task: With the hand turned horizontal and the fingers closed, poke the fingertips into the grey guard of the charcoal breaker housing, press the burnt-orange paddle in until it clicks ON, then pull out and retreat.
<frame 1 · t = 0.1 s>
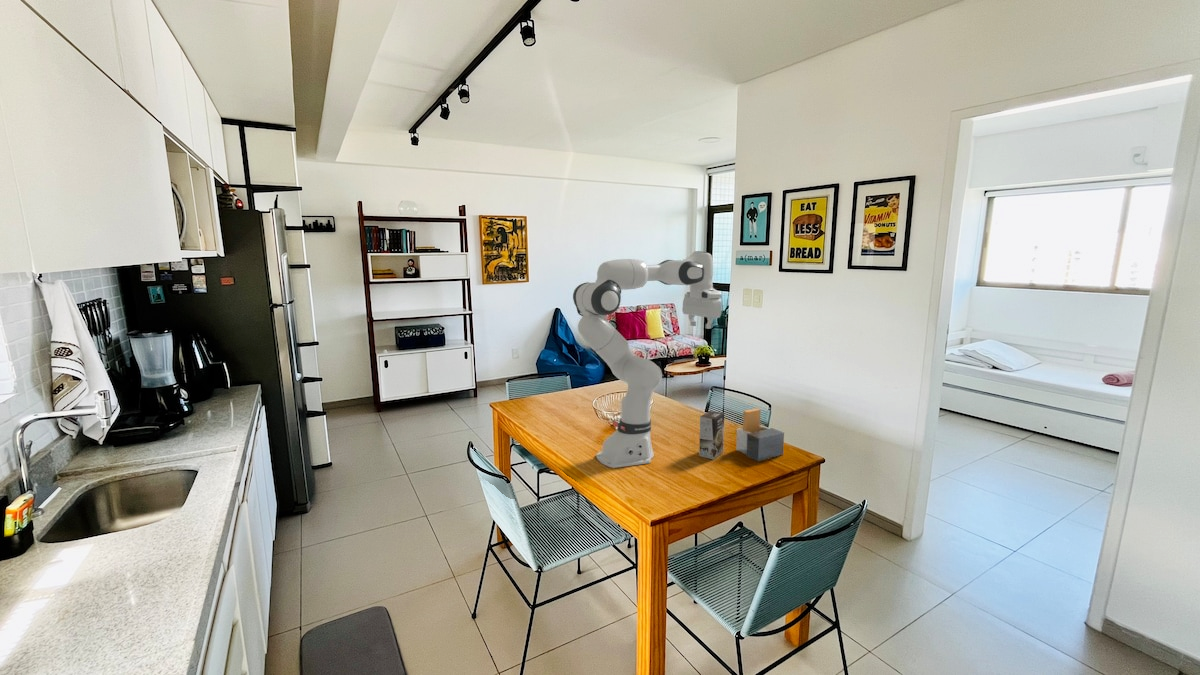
hand: (700, 327, 197), 48 cm above the table, tool pointing down, fingers open, 8 cm apart
coffee box: (711, 454, 191), on the table
breaker housing: (758, 452, 191), on the table
breaker paddle: (751, 422, 193), point 11 cm above the table, slide at 0.0 cm
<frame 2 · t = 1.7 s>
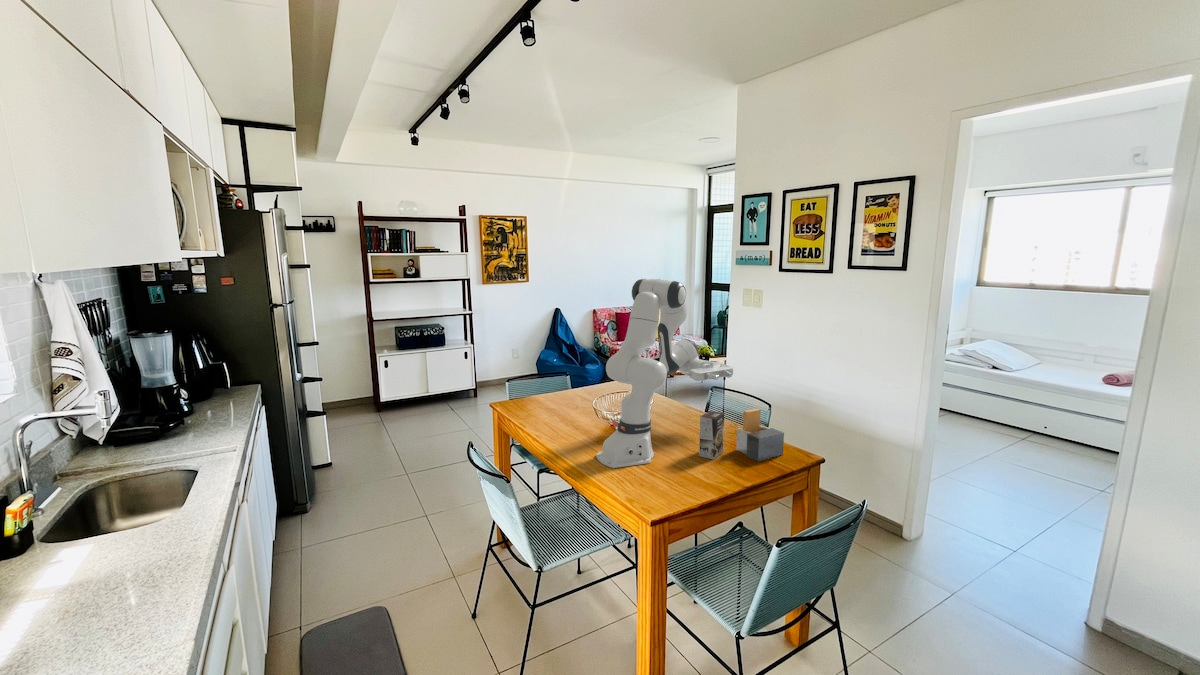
hand: (723, 376, 205), 26 cm above the table, tool horizontal, fingers open, 6 cm apart
nothing on the table moved.
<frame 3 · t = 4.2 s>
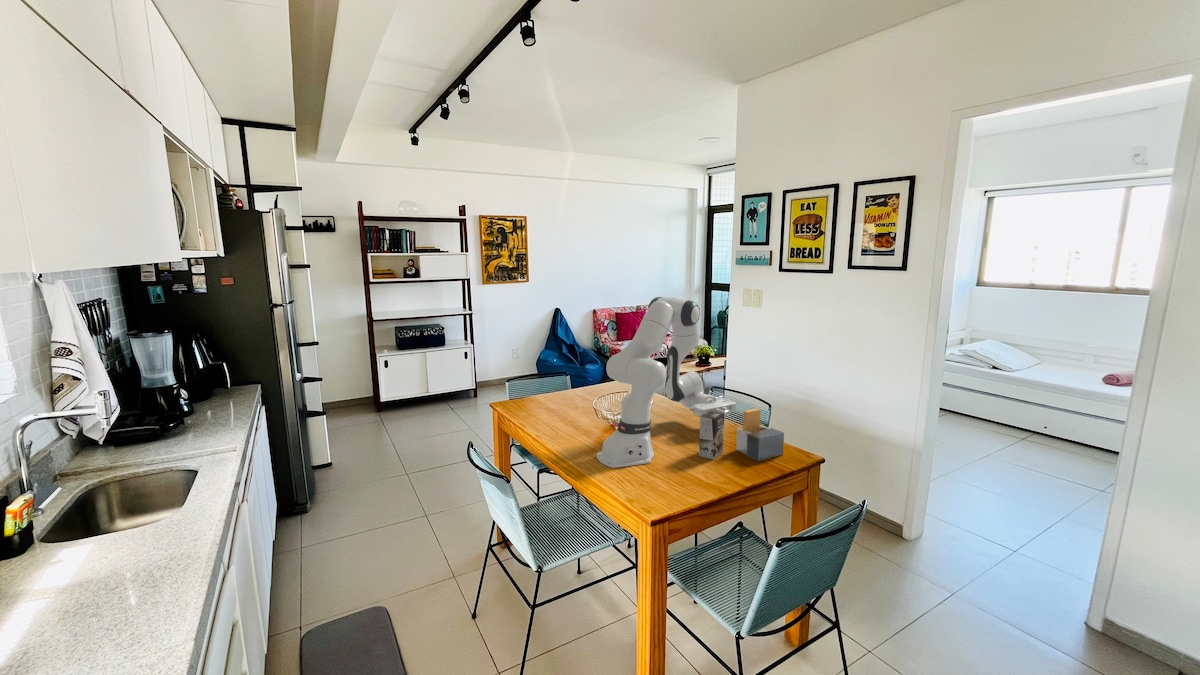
hand: (727, 413, 205), 11 cm above the table, tool horizontal, fingers closed
nothing on the table moved.
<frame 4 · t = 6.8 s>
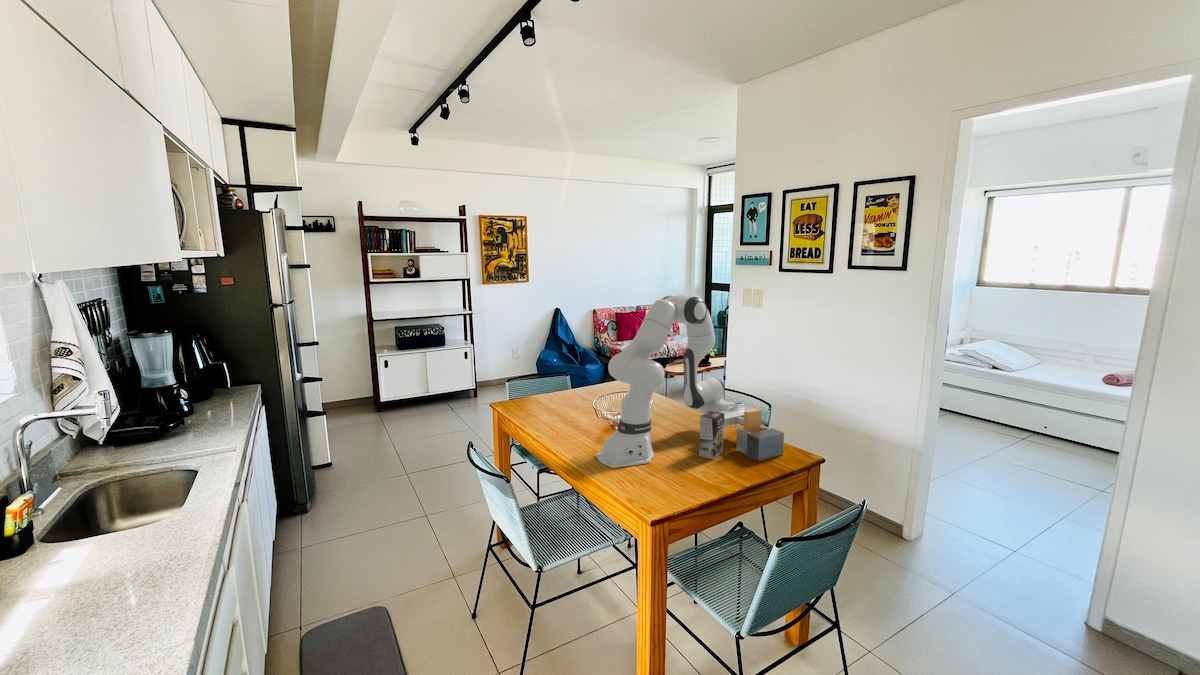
hand: (750, 422, 194), 11 cm above the table, tool horizontal, fingers closed, pressing on breaker paddle
breaker paddle: (752, 422, 193), point 11 cm above the table, slide at 0.5 cm, touching gripper
everything else where it was.
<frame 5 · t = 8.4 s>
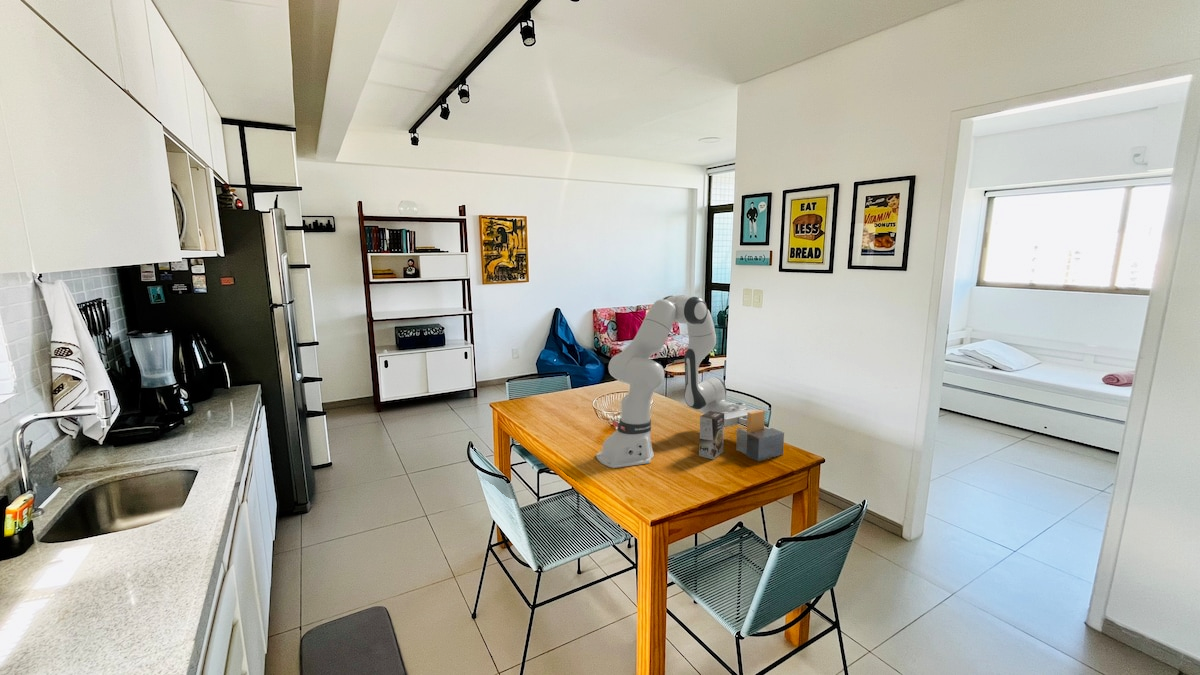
hand: (752, 422, 193), 11 cm above the table, tool horizontal, fingers closed
breaker paddle: (755, 424, 192), point 11 cm above the table, slide at 2.2 cm
everything else where it was.
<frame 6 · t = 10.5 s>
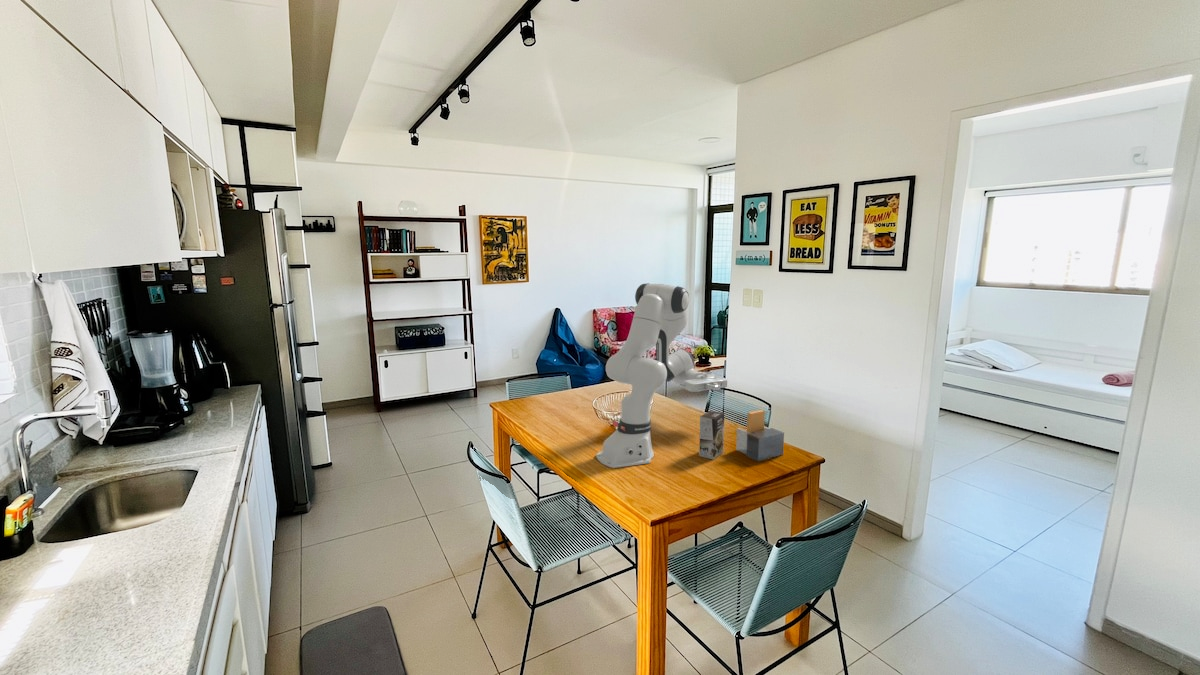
hand: (717, 388, 207), 21 cm above the table, tool horizontal, fingers closed
nothing on the table moved.
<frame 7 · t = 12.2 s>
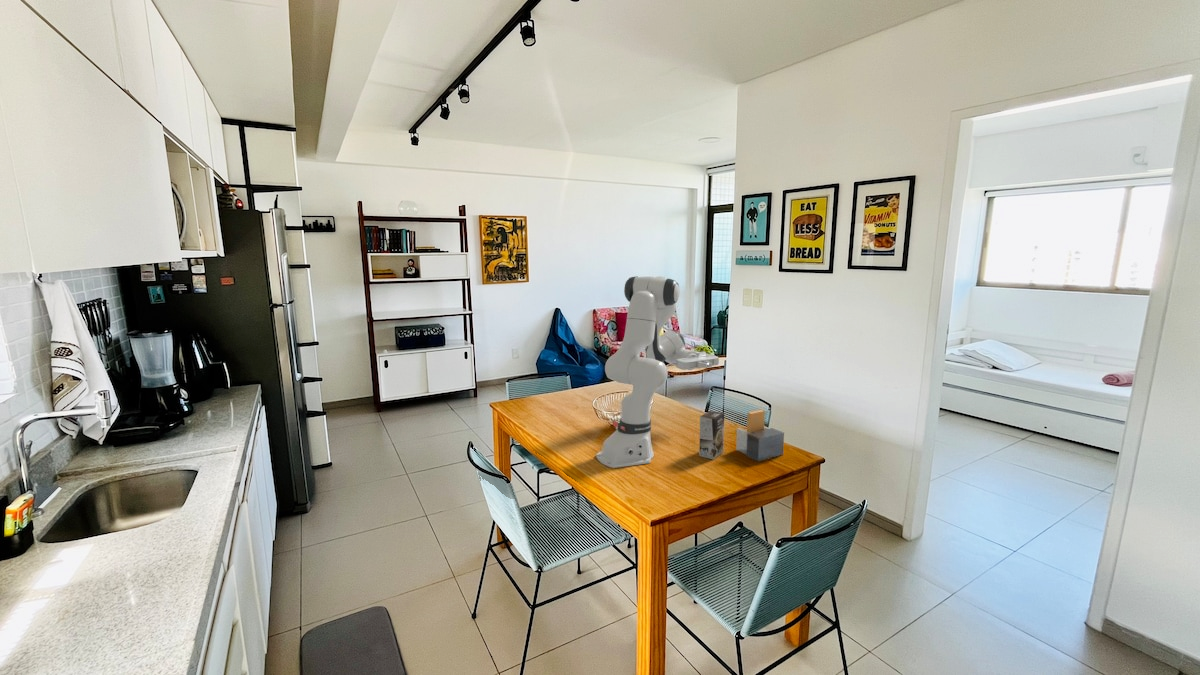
hand: (709, 365, 209), 30 cm above the table, tool horizontal, fingers closed
nothing on the table moved.
at the end: breaker paddle slide at 2.2 cm; coffee box moved 0.2 cm from its start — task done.
